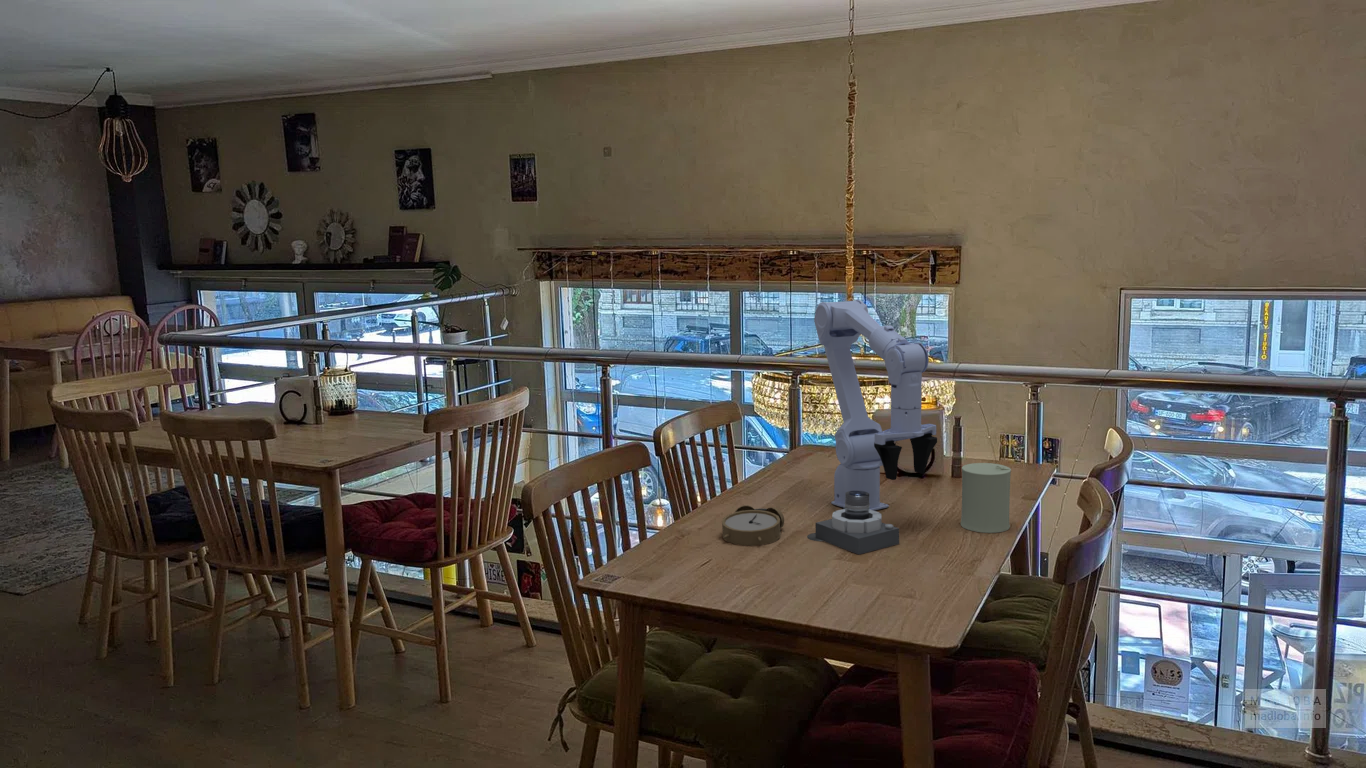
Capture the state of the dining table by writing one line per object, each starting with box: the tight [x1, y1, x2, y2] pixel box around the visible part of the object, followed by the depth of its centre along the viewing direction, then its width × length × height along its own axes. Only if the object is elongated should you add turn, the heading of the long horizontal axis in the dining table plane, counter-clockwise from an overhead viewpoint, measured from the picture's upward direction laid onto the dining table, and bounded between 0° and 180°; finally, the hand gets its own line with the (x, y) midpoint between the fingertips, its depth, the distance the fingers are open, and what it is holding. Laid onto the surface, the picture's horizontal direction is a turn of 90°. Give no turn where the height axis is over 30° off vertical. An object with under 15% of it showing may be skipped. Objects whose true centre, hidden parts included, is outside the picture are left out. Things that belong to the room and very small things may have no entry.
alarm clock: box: [721, 504, 785, 547], centre depth 188 cm, size 11×5×15 cm
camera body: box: [815, 508, 900, 555], centre depth 182 cm, size 12×10×5 cm
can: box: [960, 462, 1012, 534], centre depth 188 cm, size 9×9×12 cm
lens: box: [844, 491, 870, 520], centre depth 182 cm, size 5×5×6 cm
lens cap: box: [806, 532, 824, 542], centre depth 185 cm, size 5×5×1 cm
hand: (905, 475), depth 188 cm, fingers open, 7 cm apart
